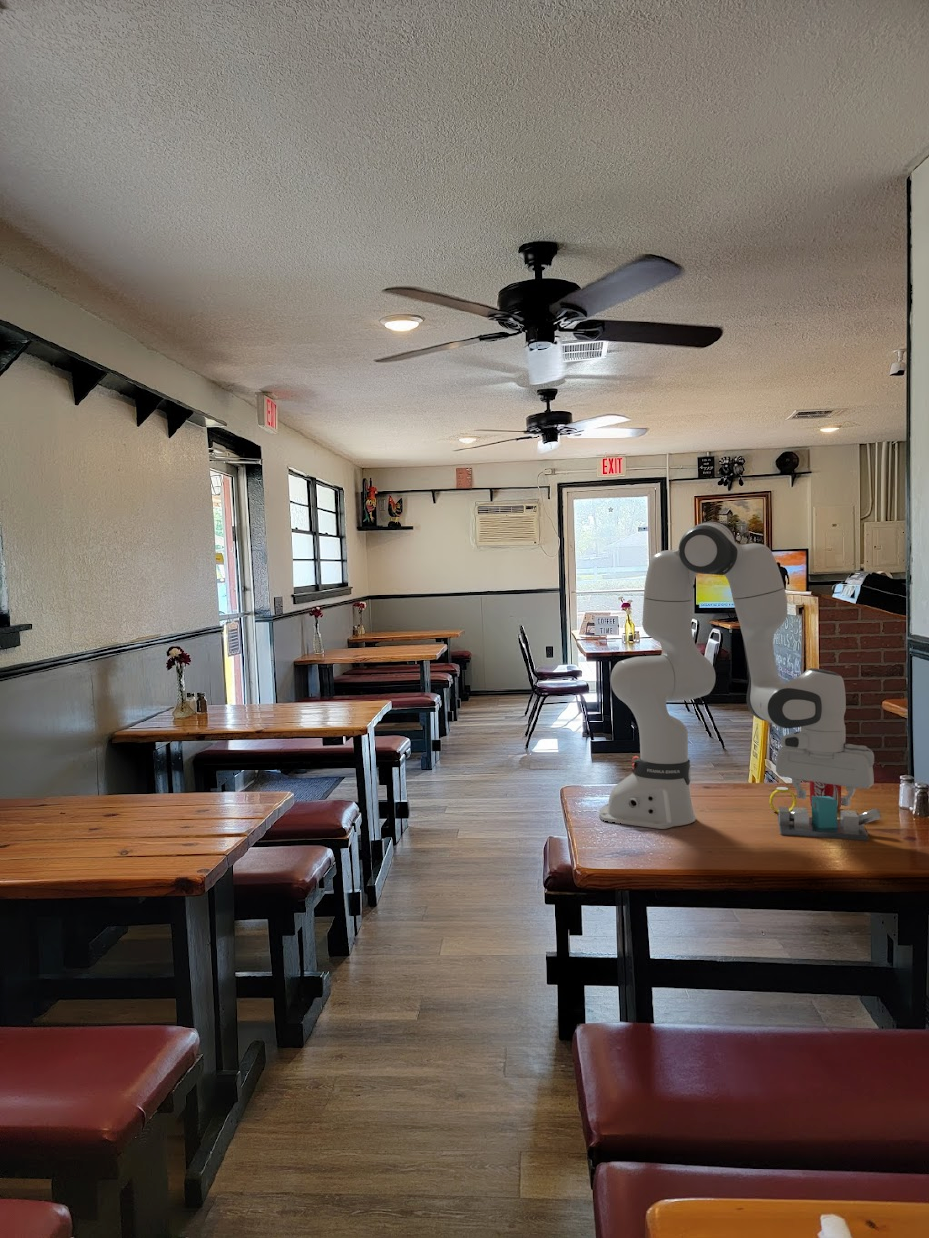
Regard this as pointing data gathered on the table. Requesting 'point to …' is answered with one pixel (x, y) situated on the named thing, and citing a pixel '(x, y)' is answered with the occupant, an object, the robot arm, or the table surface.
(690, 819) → the robot arm
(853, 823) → the shaft frame
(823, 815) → the block
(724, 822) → the table surface
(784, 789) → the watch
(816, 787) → the soda can
